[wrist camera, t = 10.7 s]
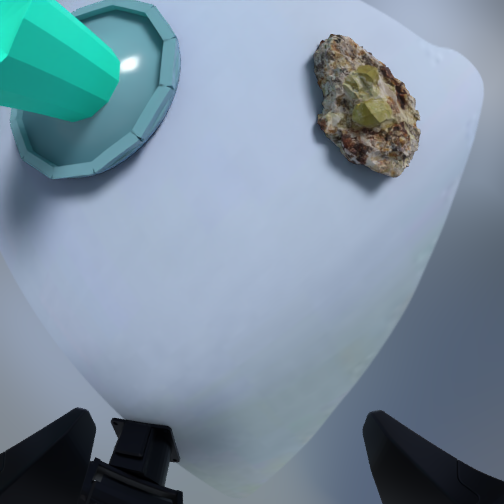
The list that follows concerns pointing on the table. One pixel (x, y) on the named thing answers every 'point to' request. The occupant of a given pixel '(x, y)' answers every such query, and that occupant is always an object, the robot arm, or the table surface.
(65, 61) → the candle
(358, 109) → the mineral rock
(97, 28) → the dish
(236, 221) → the table surface
